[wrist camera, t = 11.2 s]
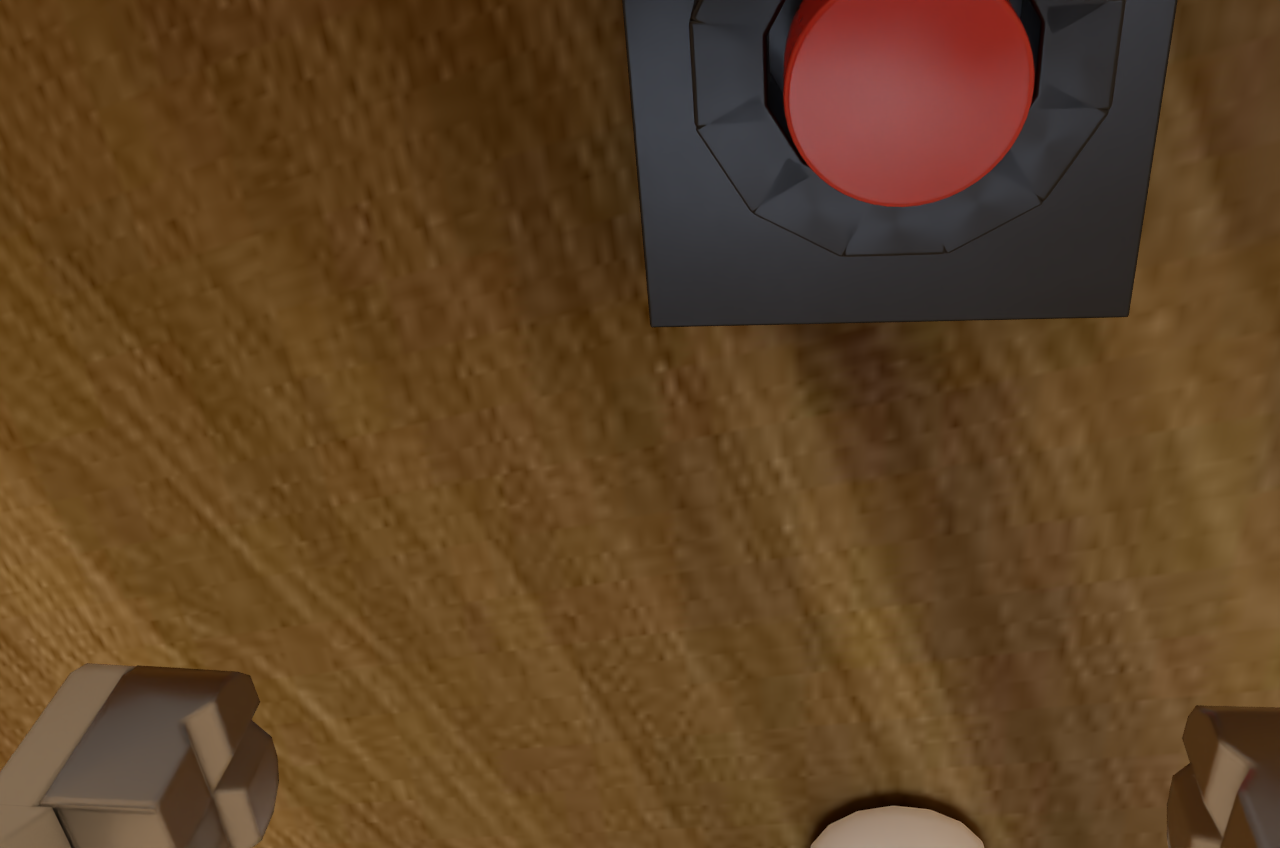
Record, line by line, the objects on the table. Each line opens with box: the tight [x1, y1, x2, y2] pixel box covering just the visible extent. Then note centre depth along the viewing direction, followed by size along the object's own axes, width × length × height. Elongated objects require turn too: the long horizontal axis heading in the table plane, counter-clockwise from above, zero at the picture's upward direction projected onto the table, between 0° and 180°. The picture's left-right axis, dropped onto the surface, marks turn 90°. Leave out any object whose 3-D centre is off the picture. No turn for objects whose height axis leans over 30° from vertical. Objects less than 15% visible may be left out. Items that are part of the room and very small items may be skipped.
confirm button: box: [783, 0, 1035, 207], centre depth 19 cm, size 4×4×2 cm
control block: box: [622, 0, 1177, 327], centre depth 21 cm, size 11×9×4 cm
